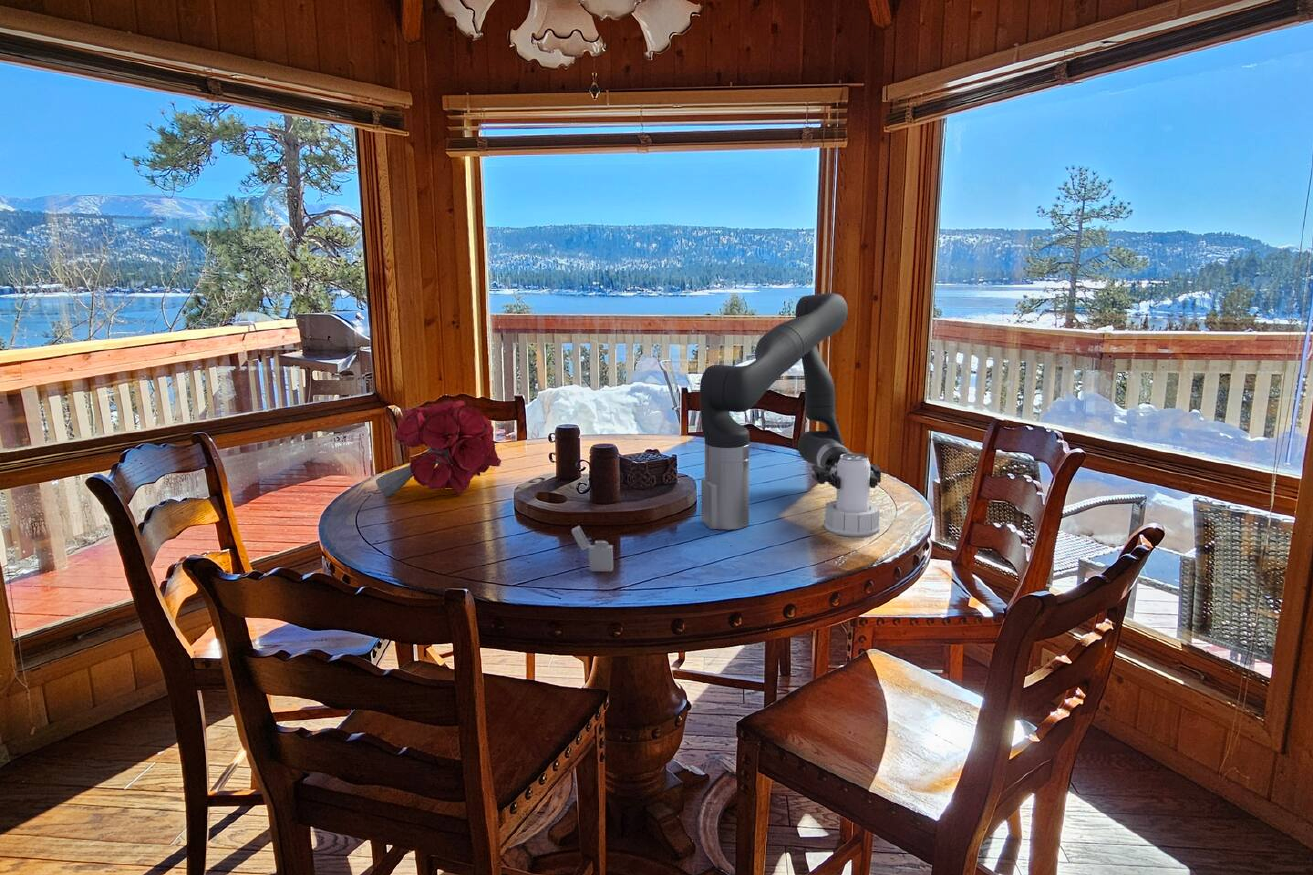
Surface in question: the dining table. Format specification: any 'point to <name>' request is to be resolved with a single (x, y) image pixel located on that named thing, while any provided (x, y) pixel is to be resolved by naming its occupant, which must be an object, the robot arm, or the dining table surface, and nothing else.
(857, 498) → the can
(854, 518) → the holder
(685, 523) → the dining table surface
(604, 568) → the lighter
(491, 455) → the bouquet
